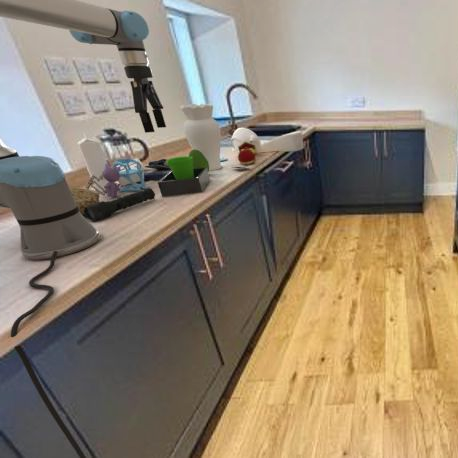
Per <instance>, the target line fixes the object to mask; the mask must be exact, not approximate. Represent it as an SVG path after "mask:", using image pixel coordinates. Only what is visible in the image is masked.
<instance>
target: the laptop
mask: <svg viewBox="0 0 458 458" xmlns="http://www.w3.org/2000/svg"><path fill="white" fill-rule="evenodd" d="M230 169H235V170H250V169H251V167H248V166H247V167H246V166H241V165H236V166H234V165H231V166H230Z"/></svg>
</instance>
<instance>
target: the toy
mask: <svg viewBox="0 0 458 458" xmlns="http://www.w3.org/2000/svg"><path fill="white" fill-rule="evenodd" d="M224 161H228V159H227V158H225V157H220V162H224Z"/></svg>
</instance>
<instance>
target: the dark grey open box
mask: <svg viewBox="0 0 458 458" xmlns="http://www.w3.org/2000/svg"><path fill="white" fill-rule="evenodd" d="M193 173H194V178H189V179H180V180H176V178H175V176H174V174H173V172H172V171H170V172H169V173H167V174H166V175H165V176H164V177H163V178H162V179H161V180H157V185H158V188H159V191H160V192H159V193H160V195H161V197H162V198H165V197H173V196H181V195H189V194H190V195H191V194H197V193H198V194H200V193H203V192H204V191H205V189H206V187H207V186H208V185H209V183H210V181H211V179H210V174H209V171H208V170H207V167H205V168H195V169H193Z"/></svg>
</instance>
